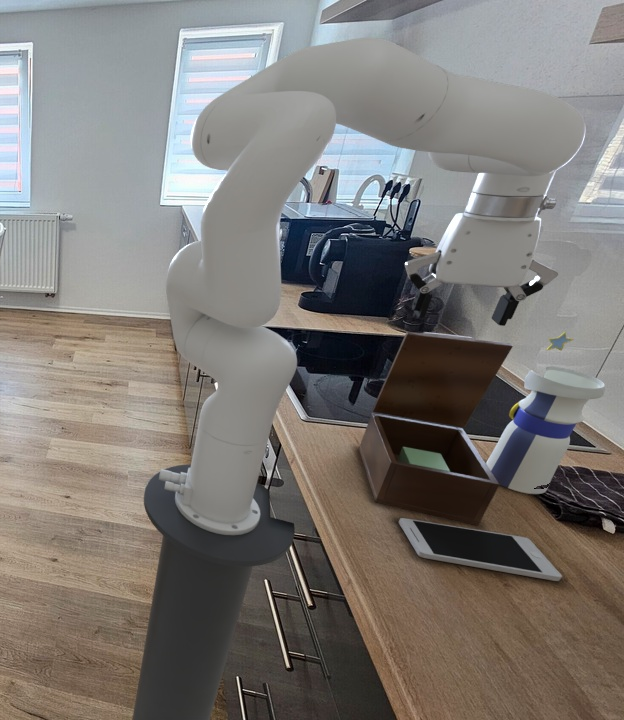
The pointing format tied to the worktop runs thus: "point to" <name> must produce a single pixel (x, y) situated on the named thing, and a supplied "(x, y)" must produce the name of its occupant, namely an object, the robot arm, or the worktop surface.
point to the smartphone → (478, 549)
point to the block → (422, 458)
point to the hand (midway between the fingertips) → (457, 318)
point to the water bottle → (542, 426)
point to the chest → (426, 469)
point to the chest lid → (440, 377)
